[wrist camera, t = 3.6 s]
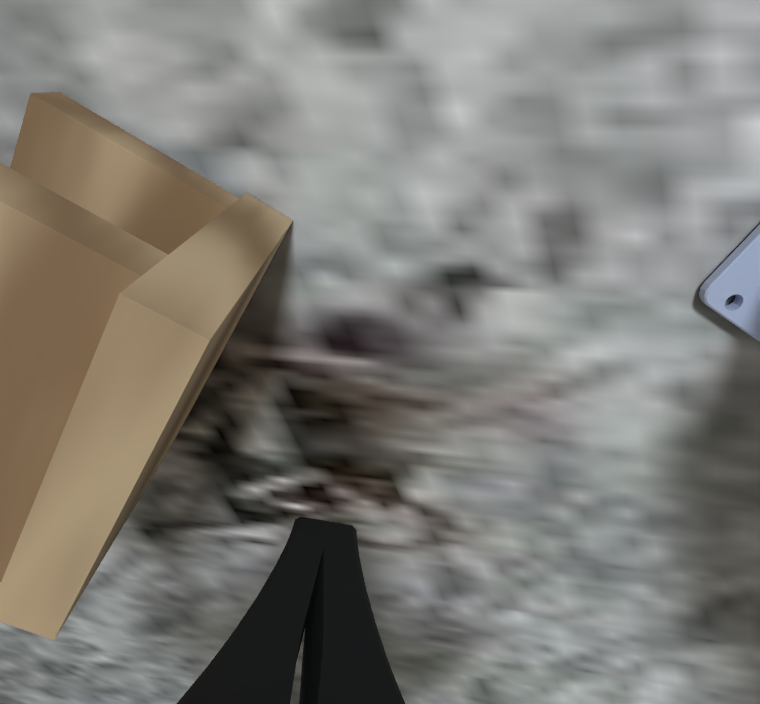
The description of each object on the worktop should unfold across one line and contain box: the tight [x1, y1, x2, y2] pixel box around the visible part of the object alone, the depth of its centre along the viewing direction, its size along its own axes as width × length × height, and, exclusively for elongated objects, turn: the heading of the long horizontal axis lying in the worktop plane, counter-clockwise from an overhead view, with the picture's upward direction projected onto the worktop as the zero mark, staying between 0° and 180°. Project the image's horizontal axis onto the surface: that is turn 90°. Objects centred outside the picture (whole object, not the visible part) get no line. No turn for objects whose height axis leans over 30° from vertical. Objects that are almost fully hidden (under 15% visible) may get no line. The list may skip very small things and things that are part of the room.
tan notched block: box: [0, 92, 293, 640], centre depth 13 cm, size 8×9×6 cm
